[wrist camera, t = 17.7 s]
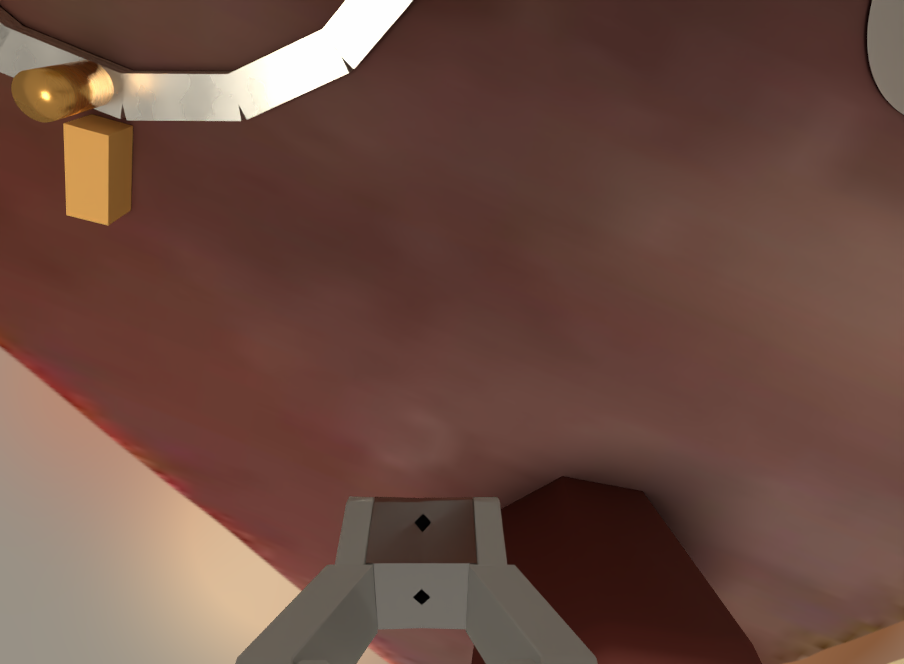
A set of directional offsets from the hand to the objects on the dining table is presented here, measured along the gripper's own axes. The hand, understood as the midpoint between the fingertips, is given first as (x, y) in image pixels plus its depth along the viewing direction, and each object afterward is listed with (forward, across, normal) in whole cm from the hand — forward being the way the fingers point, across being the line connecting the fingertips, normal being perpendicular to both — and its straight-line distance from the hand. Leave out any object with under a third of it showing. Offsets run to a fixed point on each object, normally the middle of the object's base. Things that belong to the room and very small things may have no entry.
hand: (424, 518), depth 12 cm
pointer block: (+29, +20, 0) cm, 35 cm away
